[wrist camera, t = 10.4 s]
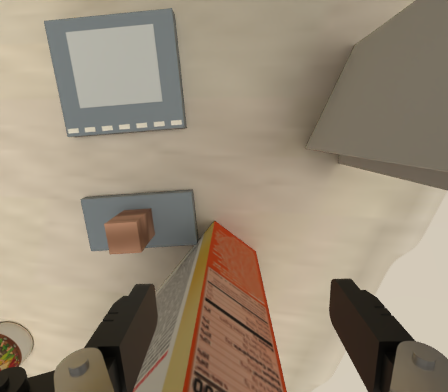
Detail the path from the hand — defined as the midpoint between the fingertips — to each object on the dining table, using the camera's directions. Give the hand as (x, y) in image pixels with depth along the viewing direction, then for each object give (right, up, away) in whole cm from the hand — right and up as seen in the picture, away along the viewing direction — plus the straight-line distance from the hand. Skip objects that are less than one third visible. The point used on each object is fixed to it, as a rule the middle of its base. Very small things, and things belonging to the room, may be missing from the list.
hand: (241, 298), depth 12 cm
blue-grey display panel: (-15, +20, +23) cm, 34 cm away
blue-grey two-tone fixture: (-13, +1, +27) cm, 30 cm away
